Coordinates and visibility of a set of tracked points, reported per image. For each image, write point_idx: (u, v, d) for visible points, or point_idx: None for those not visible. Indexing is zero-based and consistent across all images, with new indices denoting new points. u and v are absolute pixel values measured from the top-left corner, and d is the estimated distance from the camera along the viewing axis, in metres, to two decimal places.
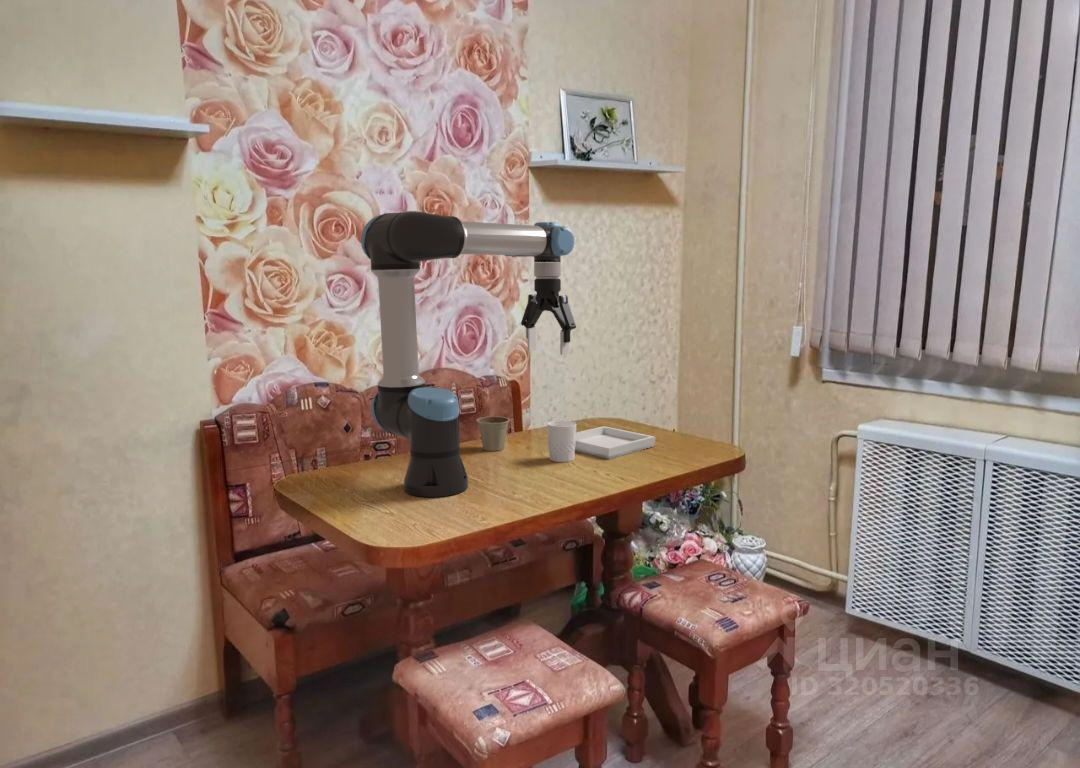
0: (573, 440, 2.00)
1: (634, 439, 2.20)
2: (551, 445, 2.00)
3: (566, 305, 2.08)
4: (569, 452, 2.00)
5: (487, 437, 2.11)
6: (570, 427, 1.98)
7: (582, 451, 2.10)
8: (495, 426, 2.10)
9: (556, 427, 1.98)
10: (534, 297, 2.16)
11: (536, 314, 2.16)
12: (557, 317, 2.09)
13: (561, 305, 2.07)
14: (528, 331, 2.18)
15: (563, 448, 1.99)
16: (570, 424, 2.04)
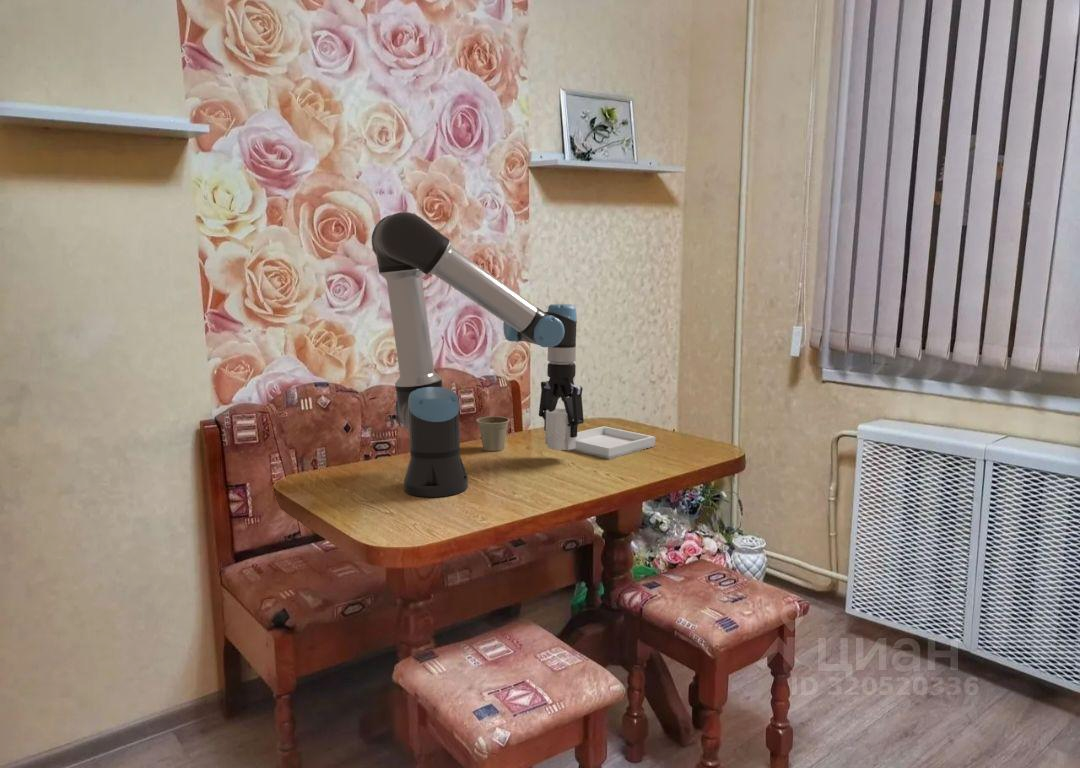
0: None
1: (634, 439, 2.20)
2: (549, 432, 1.99)
3: (579, 398, 1.96)
4: None
5: (487, 437, 2.11)
6: None
7: (582, 451, 2.10)
8: (495, 426, 2.10)
9: (554, 414, 1.97)
10: (547, 383, 2.03)
11: (552, 402, 2.02)
12: (567, 408, 1.97)
13: (574, 397, 1.95)
14: None
15: (561, 436, 1.98)
16: None
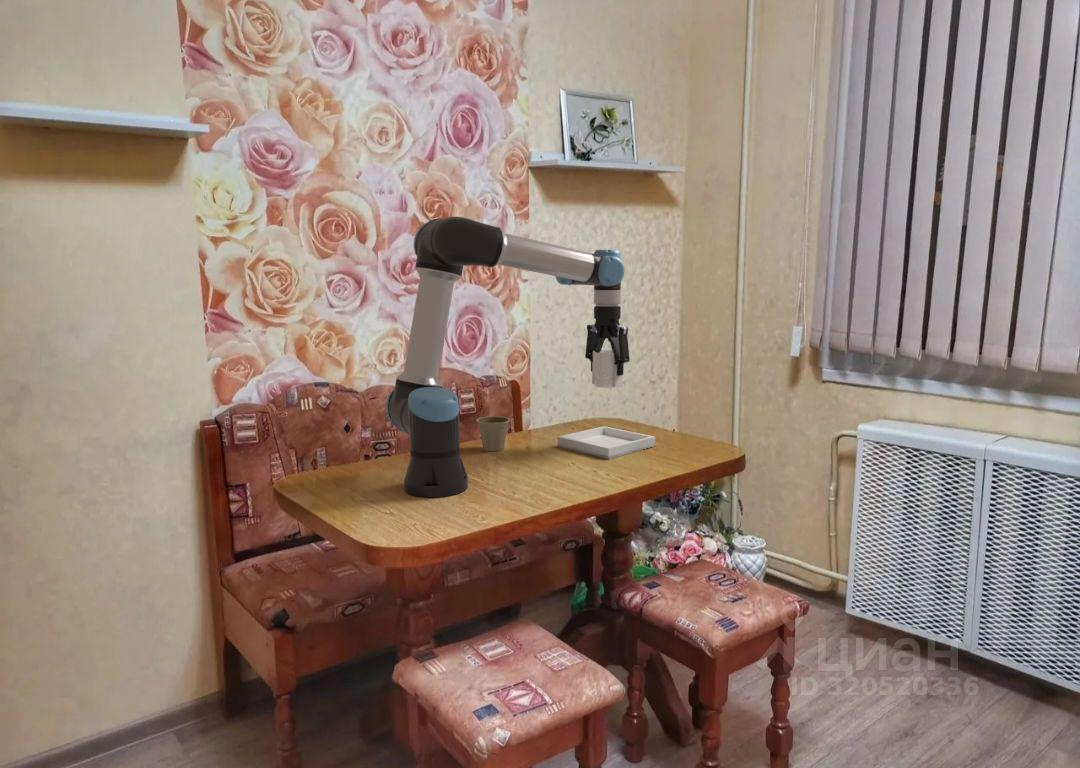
0: None
1: (634, 439, 2.20)
2: (596, 371, 2.11)
3: (625, 337, 2.07)
4: None
5: (487, 437, 2.11)
6: None
7: (582, 451, 2.10)
8: (495, 426, 2.10)
9: (602, 354, 2.08)
10: (593, 326, 2.14)
11: (598, 344, 2.13)
12: (613, 348, 2.08)
13: (620, 337, 2.06)
14: None
15: (608, 374, 2.09)
16: None
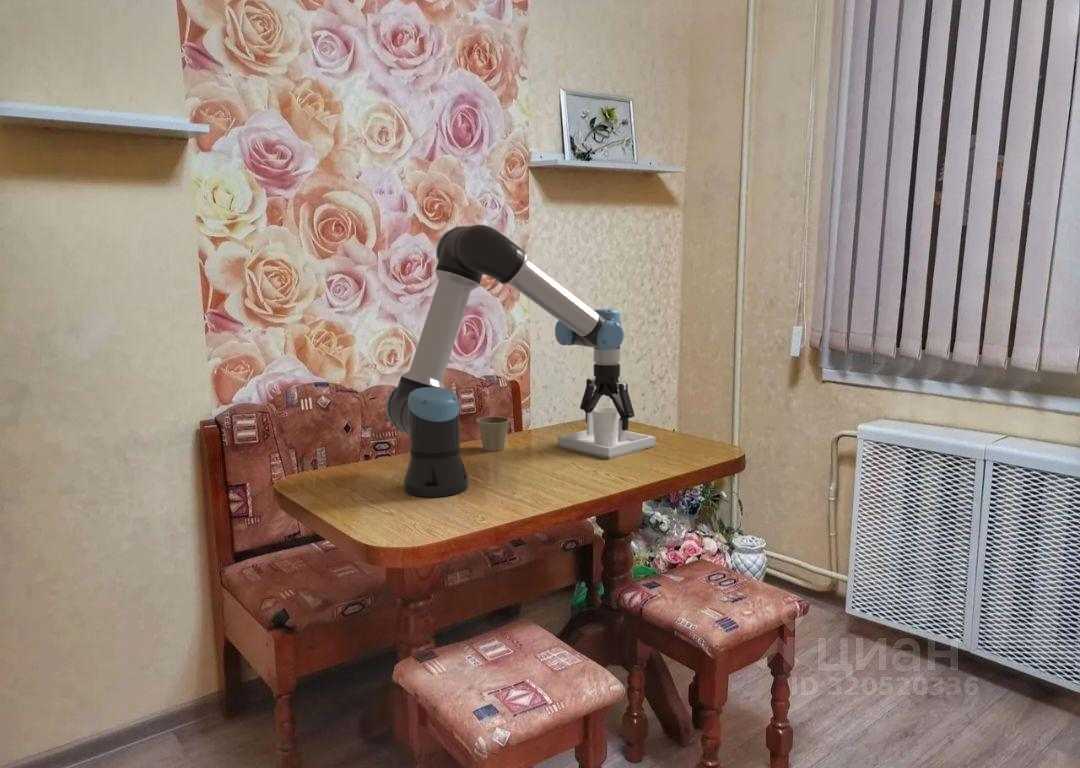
0: (617, 426, 2.13)
1: (634, 439, 2.20)
2: (596, 430, 2.13)
3: (626, 393, 2.09)
4: (613, 437, 2.13)
5: (487, 437, 2.11)
6: (614, 414, 2.11)
7: (582, 451, 2.10)
8: (495, 426, 2.10)
9: (601, 413, 2.11)
10: (592, 381, 2.17)
11: (595, 398, 2.16)
12: (616, 404, 2.10)
13: (621, 393, 2.08)
14: (588, 416, 2.19)
15: (608, 433, 2.12)
16: (613, 411, 2.17)
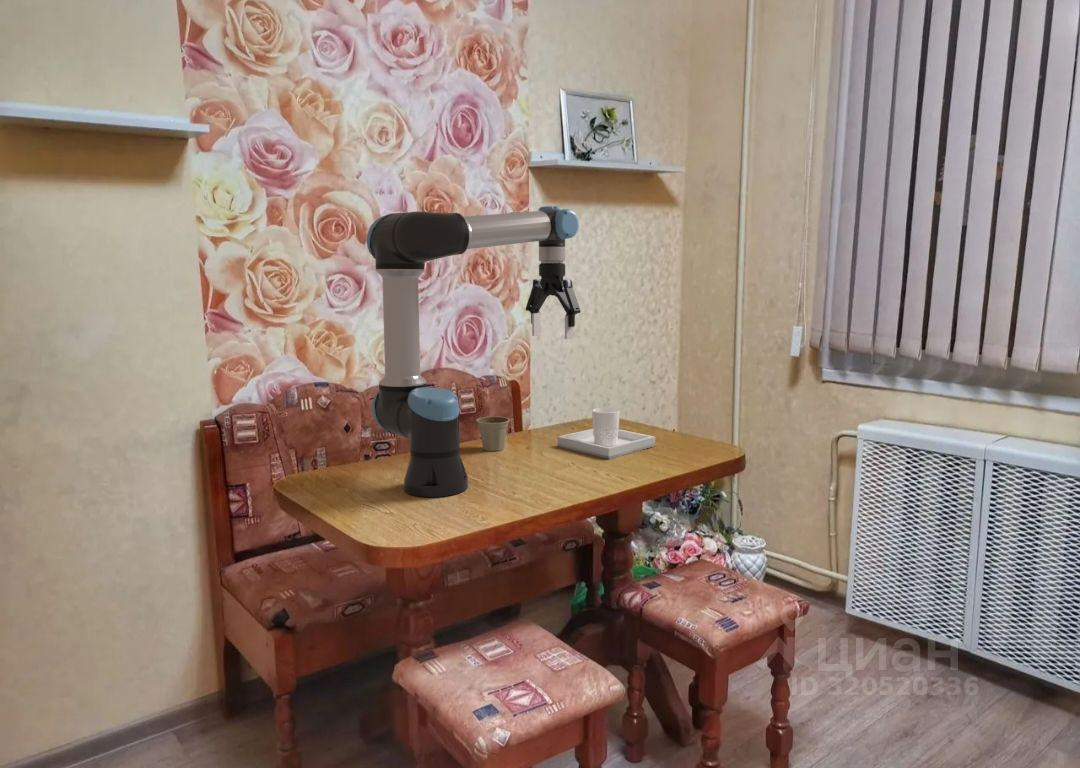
0: (617, 426, 2.13)
1: (634, 439, 2.20)
2: (596, 430, 2.13)
3: (571, 289, 2.08)
4: (613, 437, 2.13)
5: (487, 437, 2.11)
6: (614, 413, 2.11)
7: (582, 451, 2.10)
8: (495, 426, 2.10)
9: (601, 413, 2.11)
10: (539, 282, 2.16)
11: (541, 299, 2.15)
12: (562, 301, 2.09)
13: (566, 289, 2.07)
14: (533, 316, 2.18)
15: (607, 433, 2.12)
16: (613, 411, 2.17)
